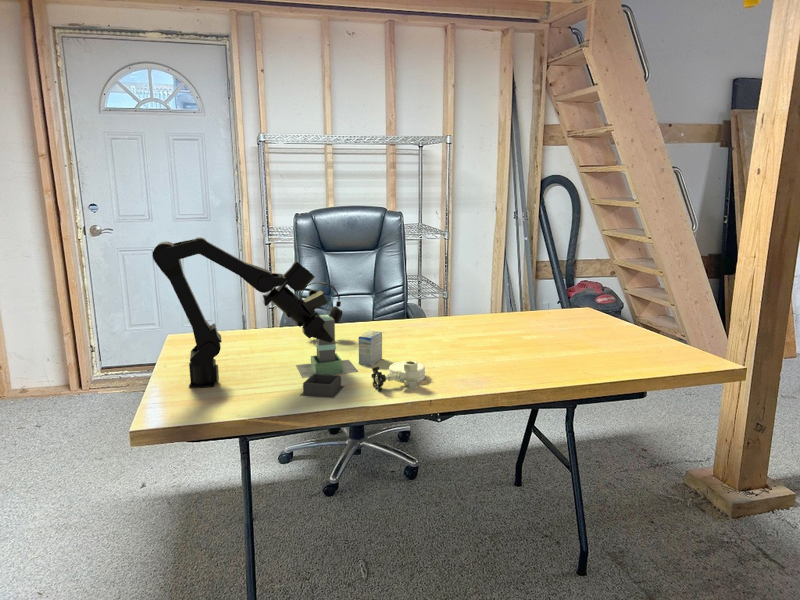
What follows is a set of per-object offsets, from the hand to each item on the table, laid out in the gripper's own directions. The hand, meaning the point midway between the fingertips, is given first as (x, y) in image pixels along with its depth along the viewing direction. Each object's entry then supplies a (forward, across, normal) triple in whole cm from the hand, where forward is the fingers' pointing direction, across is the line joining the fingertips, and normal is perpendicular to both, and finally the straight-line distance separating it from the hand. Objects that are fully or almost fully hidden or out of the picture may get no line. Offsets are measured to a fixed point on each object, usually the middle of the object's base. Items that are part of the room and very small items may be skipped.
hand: (330, 339), depth 161 cm
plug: (+3, 0, +5) cm, 6 cm away
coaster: (+20, -13, -6) cm, 25 cm away
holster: (+2, -17, +11) cm, 21 cm away
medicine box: (+16, +4, -3) cm, 17 cm away
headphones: (+9, +33, +5) cm, 34 cm away
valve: (+16, -20, -3) cm, 26 cm away
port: (+6, 0, +7) cm, 9 cm away
